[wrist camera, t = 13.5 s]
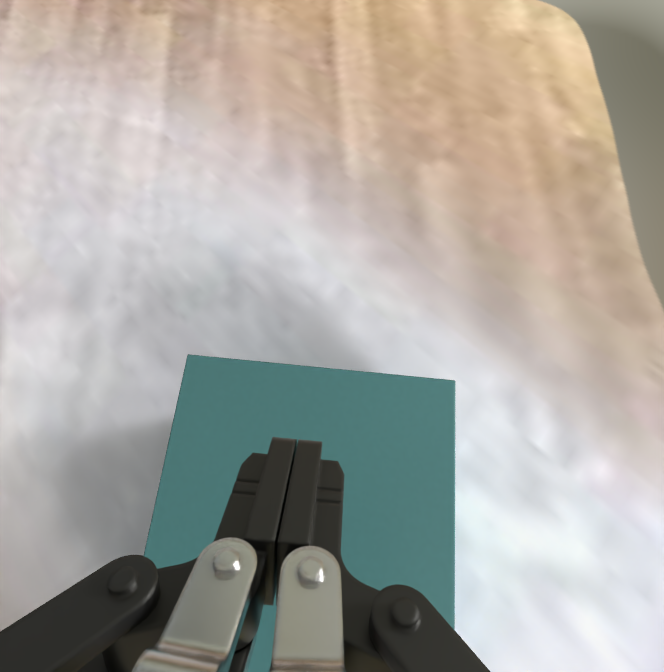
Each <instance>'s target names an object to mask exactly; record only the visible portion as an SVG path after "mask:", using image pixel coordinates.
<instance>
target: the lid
mask: <svg viewBox="0 0 664 672" xmlns="http://www.w3.org/2000/svg"><path fill="white" fill-rule="evenodd" d="M273 437H280V438H290V439H297V444H298V440H299V439H301V440H311V441H321V442H322V453H321V459H323V460H332V461H338V462H339V464H340V466H341V468H342V470H343V472H344V474H345V475H344V496H343V516H342V537H341V556H342V560H343V563H344V565H345V567H346V569H347V570H348V571H349V572H350V574H351V575H352V576H353V577H355V578H356V579H357V580H359V581H360V582H362V583H364V584H366V585H368V586H371V587H373V588H375V589H377V590H379V591H381V590H382V589H383V588H385V587H387V586H390V585H395V584H400V585H406V586H409V587H412V588H414V589H416V590H418V591H419V592H420V593H422V594H423V595H424V596H425V597H426V598H427V599H428V600H429V601H430V603H431V604H432V605H433V606H434V607H435V608H436V610H437V611H438V612H439V613H440V614H441V615H442V616H443V618H444V619H445V620H446V621H447V622H448V623H449V625H450V626H451V627H452V628H453V629H454V619H455V381H454V380H445V379H434V378H424V377H414V376H404V375H393V374H383V373H373V372H363V371H352V370H342V369H332V368H322V367H311V366H301V365H291V364H281V363H270V362H260V361H250V360H240V359H229V358H219V357H209V356H199V355H188V356H187V360H186V365H185V369H184V374H183V378H182V383H181V388H180V392H179V397H178V401H177V406H176V410H175V415H174V420H173V424H172V429H171V433H170V438H169V442H168V447H167V452H166V456H165V461H164V465H163V470H162V474H161V479H160V484H159V488H158V493H157V497H156V502H155V506H154V511H153V515H152V520H151V525H150V529H149V534H148V538H147V543H146V547H145V552H144V557H147V558H149V559H150V560H151V561H153V562H154V564H155V566H156V568H157V569H158V568H163V567H168V566H173V565H178V564H182V563H186V562H189V561H191V560H193V559H195V558H197V557H198V556H199V555H200V553H201V552H202V551H203V549H205V548H206V547H207V546H208V545H209V544H211V543H212V542H213V541H214V539H215V537H216V534H217V531H218V528H219V525H220V523H221V520H222V517H223V514H224V512H225V509H226V506H227V503H228V500H229V498H230V495H231V493H232V489H233V486H234V484H235V481H236V478H237V475H238V472H239V470H240V467H241V464H242V463H243V462H244V461H245V460H246V459H247V458H248V457H249V456H250V455H251V454H252V453H262V454H268V450H269V447H270V443H271V440H272V438H273ZM276 609H277V606H276V592H275V598H274V603H273V606H272V605H263V609H262V614H261V619H260V624H259V628H258V631H257V638H256V642H255V646H254V649H253V653H252V657H251V660H250V664H249V667H248V671H247V672H269V669H270V666H271V658H272V649H273V639H274V629H275V619H276Z"/></svg>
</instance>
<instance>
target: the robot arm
mask: <svg viewBox="0 0 664 672" xmlns="http://www.w3.org/2000/svg"><path fill="white" fill-rule="evenodd" d="M321 453H322V442H321V441H311V440H301V439H299V440H298V444H297V439H290V438H280V437H273V438H272V440H271V443H270V447H269V450H268V454H262V453H252V454H251V455H250V456H249V457H248V458H247V459H246V460H245V461H244V462H243V463H242V464H241V467H240V470H239V472H238V475H237V478H236V481H235V484H234V486H233V489H232V493H231V495H230V498H229V500H228V503H227V506H226V509H225V512H224V514H223V517H222V520H221V523H220V525H219V528H218V531H217V534H216V537H215V539H214V541H213V542H212V543H211V544H209V545H208V546H207V547H206V548H205V549H203V551H202V552H201V553H200V555H199V556H198V557H197V558H195V559H193V560H191V561H189V562H186V563H182V564H178V565H173V566H168V567H163V568H158V569H157V568H156V566H155V564H154V562H153V561H151V560H150V559H149V558H147V557H144V556H141V555H128V556H124V557H120V558H118V559H115V560H113V561H111V562H110V563H108V564H106V565H105V566H103V567H102V568H100V569H99V570H97V571H95V572H94V573H92V574H91V575H89V576H87V577H86V578H84V579H83V580H81V581H80V582H78V583H76V584H75V585H73V586H72V587H70V588H69V589H67V590H65V591H64V592H62V593H61V594H59V595H57V596H56V597H54V598H53V599H51V600H50V601H48V602H46V603H45V604H43V605H42V606H40V607H39V608H37V609H35V610H34V611H32V612H31V613H29V614H27V615H26V616H24V617H23V618H21V619H20V620H18V621H16V622H15V623H13V624H12V625H10V626H9V627H7V628H5V629H4V630H2V631H1V632H0V672H247V671H248V667H249V664H250V660H251V657H252V653H253V649H254V646H255V642H256V638H257V631H258V628H259V624H260V619H261V614H262V609H263V605H272V606H273V603H274V598H275V592H276V606H277V609H276V619H275V629H274V639H273V649H272V658H271V666H270V669H269V672H490V671H489V670H488V668H487V667H486V666H485V665H484V664H483V663H482V662H481V660H480V659H479V658H478V657H477V656H476V655H475V653H474V652H473V651H472V650H471V649H470V648H469V647H468V645H467V644H466V643H465V642H464V641H463V640H462V638H461V637H460V636H459V635H458V634H457V633H456V631H455V630H454V629H453V628H452V627H451V626H450V625H449V623H448V622H447V621H446V620H445V619H444V618H443V616H442V615H441V614H440V613H439V612H438V611H437V610H436V608H435V607H434V606H433V605H432V604H431V603H430V601H429V600H428V599H427V598H426V597H425V596H424V595H423V594H422V593H420V592H419V591H418V590H416V589H414V588H412V587H409V586H406V585H400V584H395V585H390V586H387V587H385V588H383V589H382V590H381V591H379V590H377V589H375V588H373V587H371V586H368V585H366V584H364V583H362V582H360V581H359V580H357V579H356V578H355V577H353V576H352V575H351V574H350V572H349V571H348V570H347V569H346V567H345V565H344V563H343V560H342V556H341V537H342V516H343V496H344V475H345V474H344V472H343V470H342V468H341V466H340V464H339V462H338V461H332V460H323V459H321Z"/></svg>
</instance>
